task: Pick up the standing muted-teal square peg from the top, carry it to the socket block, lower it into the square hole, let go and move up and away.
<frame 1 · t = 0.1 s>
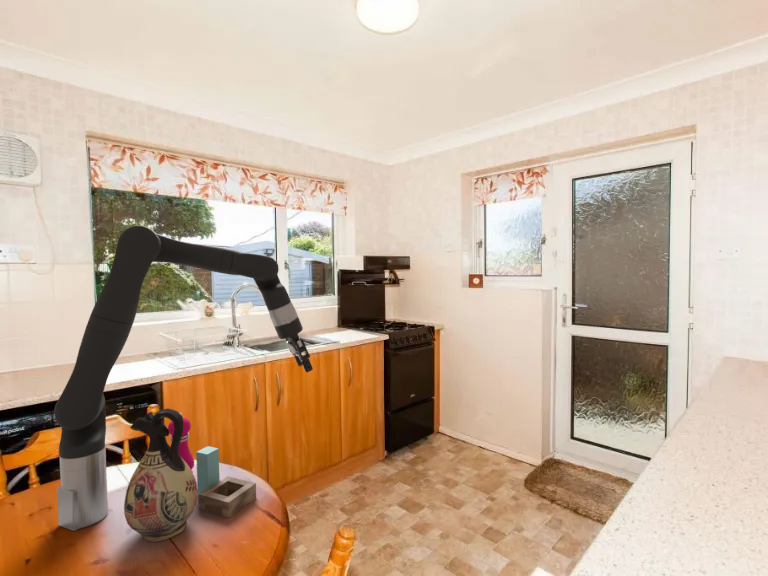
hand: (305, 367, 128), 31 cm above the table, tool tilted 20°, fingers open, 8 cm apart
socket block: (228, 503, 111), on the table
peg: (208, 492, 116), on the table
pepper mill: (181, 480, 123), on the table
ceramic jug: (166, 532, 99), on the table
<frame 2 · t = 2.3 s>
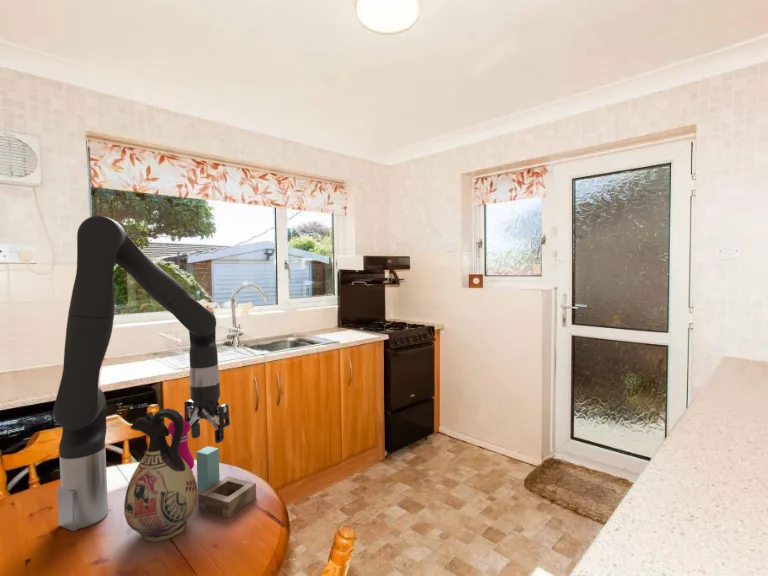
hand: (207, 439, 115), 15 cm above the table, tool pointing down, fingers open, 8 cm apart
nothing on the table moved.
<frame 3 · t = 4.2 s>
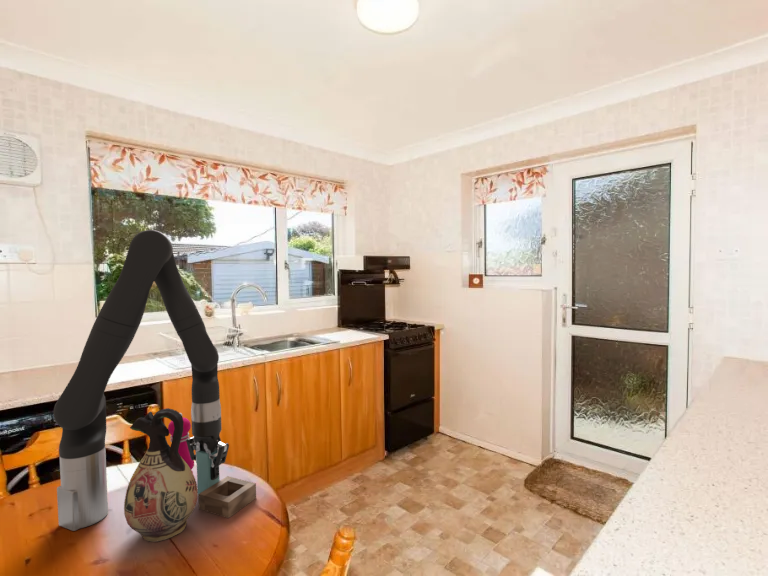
hand: (208, 476, 116), 4 cm above the table, tool pointing down, fingers closed on peg, 4 cm apart
peg: (208, 492, 116), on the table, touching gripper
everything else where it was.
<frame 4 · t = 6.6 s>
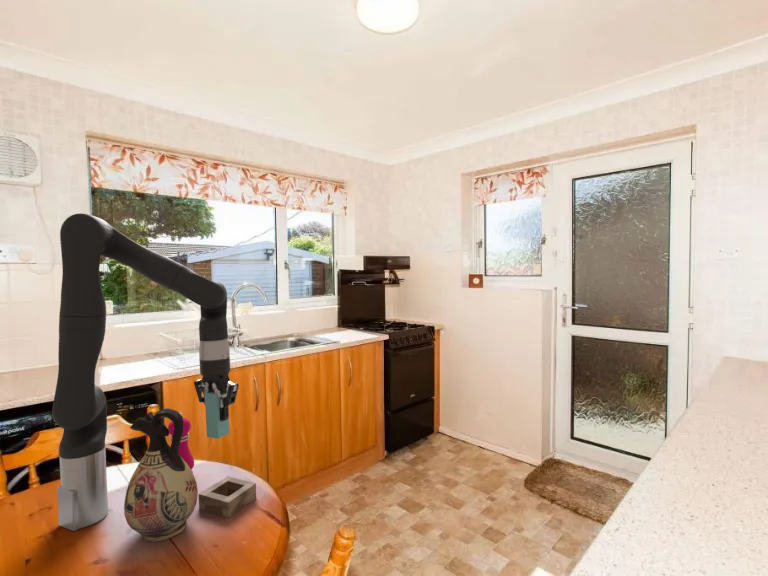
hand: (217, 418, 112), 22 cm above the table, tool pointing down, fingers closed on peg, 4 cm apart
peg: (218, 435, 113), point 17 cm above the table, touching gripper
everything else where it was.
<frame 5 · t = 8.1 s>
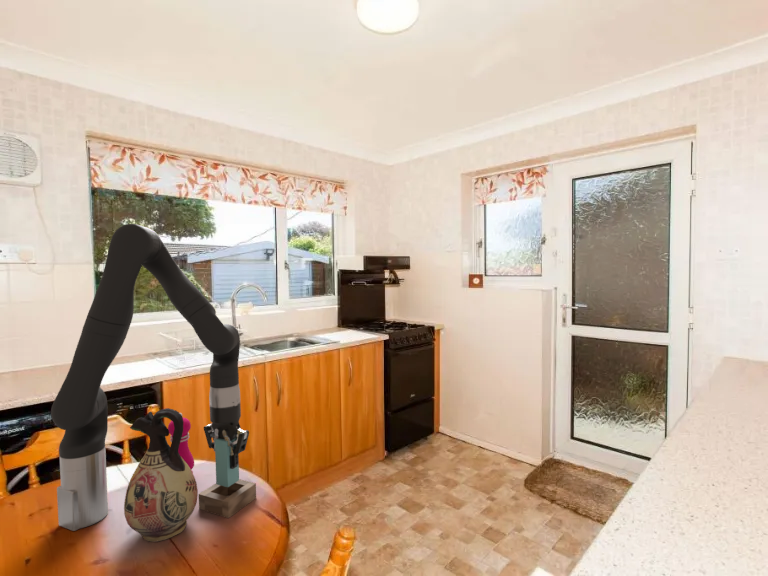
hand: (227, 465, 110), 10 cm above the table, tool pointing down, fingers closed on peg, 4 cm apart
peg: (227, 482, 110), point 6 cm above the table, touching gripper
everything else where it was.
when the fingers open (6 cm above the table, at t = 9.3 s): peg drops 1 cm, resting in socket block.
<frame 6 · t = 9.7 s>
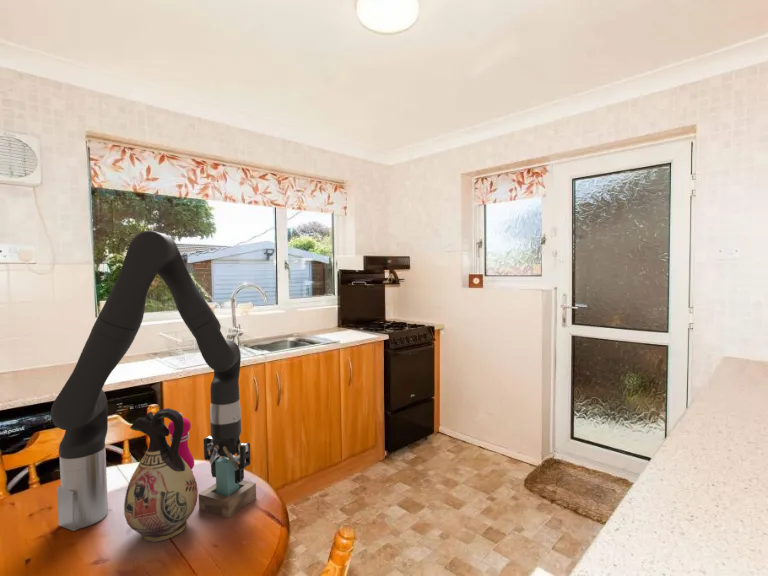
hand: (227, 478, 110), 7 cm above the table, tool pointing down, fingers open, 7 cm apart
peg: (228, 503, 111), resting in socket block
everything else where it was.
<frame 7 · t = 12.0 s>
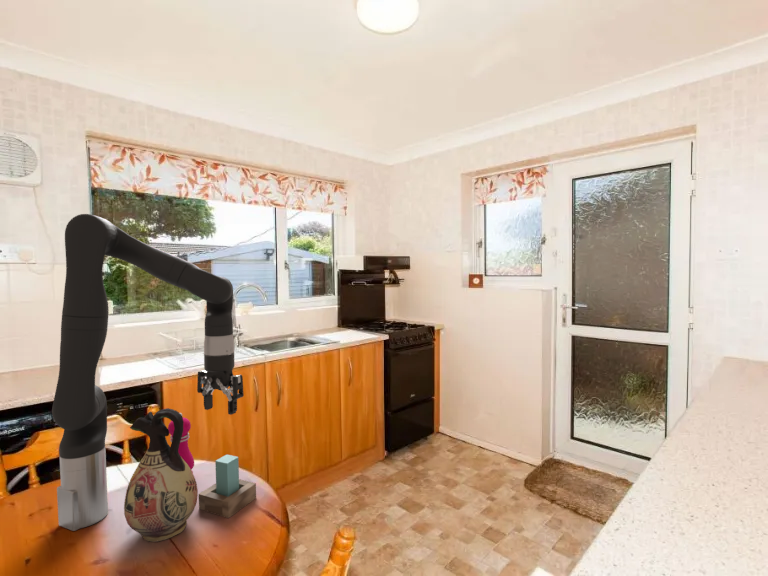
hand: (220, 411, 112), 24 cm above the table, tool pointing down, fingers open, 8 cm apart
nothing on the table moved.
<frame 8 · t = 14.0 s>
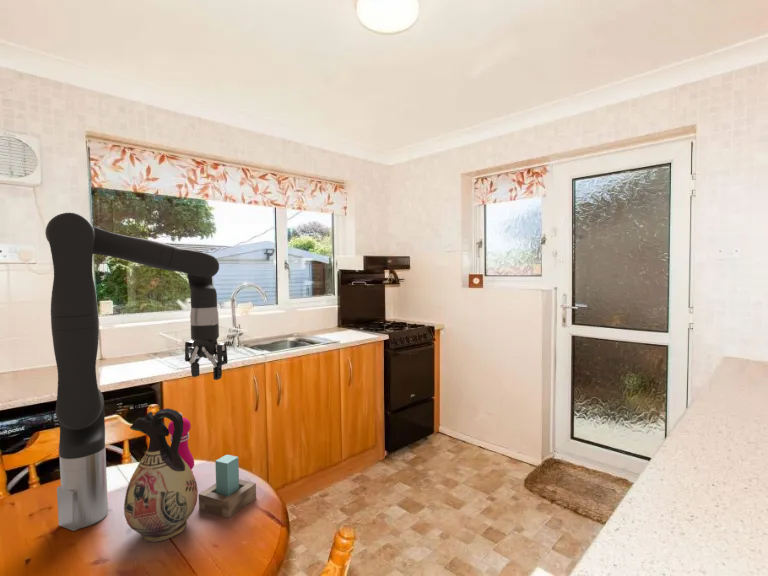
hand: (206, 377, 122), 30 cm above the table, tool pointing down, fingers open, 8 cm apart
nothing on the table moved.
at the end: peg 0.1 cm off-centre on the socket block, point 0.0 cm above the socket block's base; peg tilted 0°; the gripper is holding nothing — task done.
